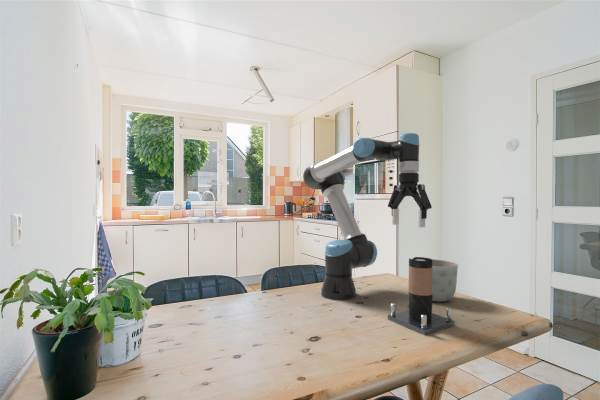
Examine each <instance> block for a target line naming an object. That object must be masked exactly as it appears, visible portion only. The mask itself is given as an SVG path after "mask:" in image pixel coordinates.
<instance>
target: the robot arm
mask: <svg viewBox="0 0 600 400" xmlns="http://www.w3.org/2000/svg"><path fill="white" fill-rule="evenodd" d="M419 156H420V136H419V134H417V133H416V132H415V133H414V132H408V133H402V134H400V135H399V138H398V140H396V141H385V140H378V139H374V138H369V137H359V138H356V139H355V141H354V142H353V144H352V145H351V146H350V147H348V148H345V149H343V151H341V152H338V153H336V154H335V155H332V156H330V157H329V158H326V159H325V160H323V161H321V162H315V163H312V164H310V165H309V166H307V167H306V168H305V170H304V171H303V175H302V176H303V177H302V179H303V181H304V182H303V183H304V184H305V185H306V186H307V187H308V188H309V189H313V190H320V191H321V194H322V196H323V197H325V198H326V199H327V200H328V203H329V206H330V208H331V210H332V213H333V215H334V217H335V220H336V223H337V226H338V228H339V230H340V233H341V235H342V238H343V239H337V240H332V241H329V242H327V243H326V245H325V251H324V256H325V257H324V259H325V260H324V263H325V268H324V269H325V273H324V274H325V276H324V280H323V283H322V286H321V291H320V292H321V296H322V297H323V298H326V299H329V300H339V301H340V300H341V301H343V300H350V299H354V298H355V297H356V296H357V290H356V286H355V283H354V280H353V269H358V268H366V267H368V266H370V265H371V266H372V265H373V264H374V262H375V261H376V260H377V257H378V249H377V246H376V244H375V243H374V242H373V241H371V240H369V239H368V238H367V236H366V233H364V232H361V230H360V228H359V225H358V223H357V220H356V218H355V216H354V213H353V212H352V208H351V207H350V204H349V202H348V199H347V197H346V195H345V192H344V189H345V183H346V177H345V174H344V172H343V171H344V170H346V169H348V168H351V167H352V166H355V165H357V164H359V163H361V162H364V161H366V160H369V159H375V160H376V161H378V162H387V161H392V160H394V161H395V160H398V165H399V166H398V172H399V174H398V182H399V185H398V184H396V185H393V191H392V193H391V195H390V199H389V201H388V204H387V207H388V208H390V209H391V217H392V222H391V223H392V226H393V225H399V219H400V217H399V215H400V213H399V212H400V209H399V207H400V204H401V203H402V202H403V200H404V199H405V198H406V197H412V198H413V200H414V201H415V203H416V204H417V206H418V207H419V210H418V228H421V229H422V228H426V219H427V218H428V217H427V216H428V215H427V213H428V210H431V209H432V204H431V201H430V199H429V197H428V193H427V192H426V186H425V184H418V183H419V180H420V174H419V173H418V172H420V157H419Z"/></svg>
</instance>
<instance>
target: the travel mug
mask: <svg viewBox="0 0 600 400" xmlns="http://www.w3.org/2000/svg"><path fill="white" fill-rule="evenodd" d="M432 296H433V276H432V258H429V257H424V256H414V257H413V258H410V257H409V259H408V310H409V317H410V318H411V319H413V320H416V321H421V315H422V314H424V315H427V322H428V321H431V319H432V313H433V301H432Z"/></svg>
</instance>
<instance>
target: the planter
mask: <svg viewBox="0 0 600 400" xmlns="http://www.w3.org/2000/svg"><path fill="white" fill-rule="evenodd" d="M431 259H432V258H431ZM458 269H459V264H458V263H456V262H453V261H450V260H443V259H432V276H433V296H432V302H435V303H436V302H438V303H442V302H448V301H450V300H451V299H453V297H454V296H455V294H456V290H457V282H458V281H457V279H458Z"/></svg>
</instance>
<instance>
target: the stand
mask: <svg viewBox="0 0 600 400" xmlns="http://www.w3.org/2000/svg"><path fill="white" fill-rule="evenodd" d="M396 305H397V304H396V303H393V302H391V303H390V314H388V315H387V319H388V321H391V322H393V323H396V324H397V325H400V326H402V327H405V328H407V329H410V330H412V331H415V332H417V333H419V334H421V335H422V336H423V335H424V336H426V335H429V334H433V333H437V332H439V331H443V330H445V329H448V328H451V327H455V325H456V323H455V322H456V321H455V320H453V319H452V318H453V315H452V314H453V313H452V312H453V310H452V309H453V308H451V307H446V317H444V316H441V315H440V314H439V315H438V314H436V313H433V312H432V319H431V321H428V322H427V315H424V314H422V315H421V321H416V320H413V319H411V318H410V317H409V309H407V310H404V311H403V310H402V311H399V312H397V310H396Z"/></svg>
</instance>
